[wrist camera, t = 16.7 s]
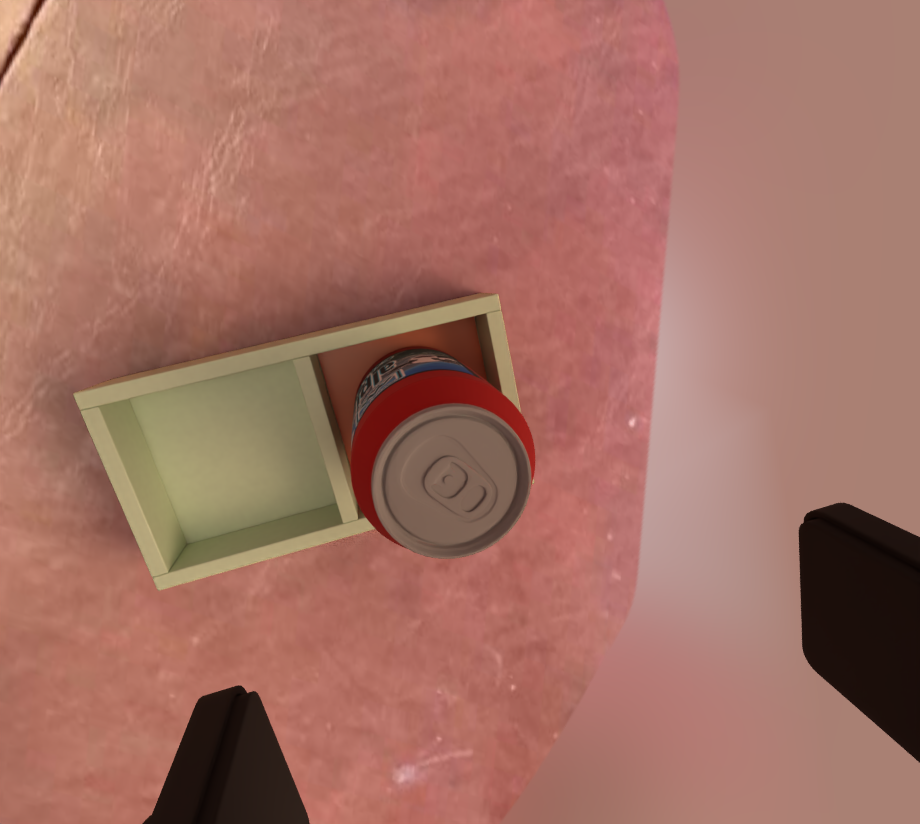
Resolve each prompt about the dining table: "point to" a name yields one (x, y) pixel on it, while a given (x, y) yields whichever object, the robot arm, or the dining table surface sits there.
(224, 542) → the grid
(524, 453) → the beverage can
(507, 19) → the dining table surface
